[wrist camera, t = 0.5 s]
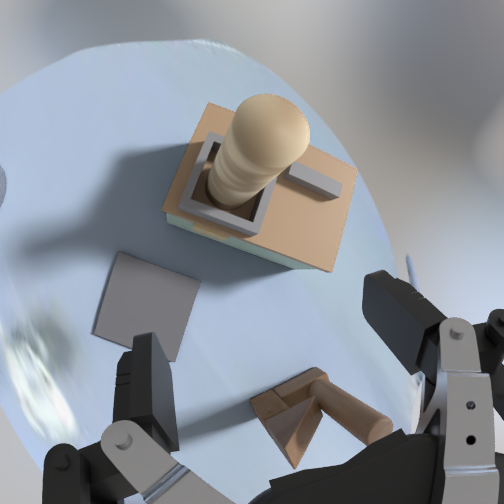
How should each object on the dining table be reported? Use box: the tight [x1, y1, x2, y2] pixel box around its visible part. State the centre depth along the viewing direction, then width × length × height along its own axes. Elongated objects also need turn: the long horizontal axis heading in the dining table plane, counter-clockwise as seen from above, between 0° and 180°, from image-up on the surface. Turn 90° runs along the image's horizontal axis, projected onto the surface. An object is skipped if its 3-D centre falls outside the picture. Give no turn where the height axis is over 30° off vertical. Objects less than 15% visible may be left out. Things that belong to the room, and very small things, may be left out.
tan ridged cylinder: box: [205, 94, 310, 210], centre depth 24 cm, size 5×5×14 cm
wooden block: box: [250, 367, 393, 469], centre depth 33 cm, size 4×11×18 cm, turn 112°
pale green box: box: [162, 102, 358, 272], centre depth 35 cm, size 19×13×13 cm
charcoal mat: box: [94, 252, 201, 362], centre depth 37 cm, size 11×11×1 cm
